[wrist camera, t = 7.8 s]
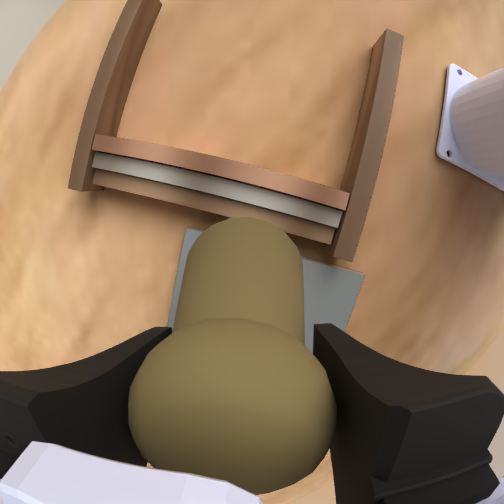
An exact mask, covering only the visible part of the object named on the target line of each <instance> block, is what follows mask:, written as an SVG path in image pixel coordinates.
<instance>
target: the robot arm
mask: <svg viewBox="0 0 504 504" xmlns="http://www.w3.org/2000/svg"><path fill="white" fill-rule="evenodd" d="M457 71H458V72H459V73H460V75H459V74H458V72H457ZM447 151H448V152H449V157H448V156H447ZM436 152H437V155H438V156H439V157H440V158H442V159H444V160H446V161H448V162H450V163H452V164H454V165H456V166H458V167H460V168H462V169H464V170H466V171H468V172H470V173H471V174H473V175H475V176H477V177H479V178H481V179H483V180H484V181H486V182H488V183H490V184H491V185H493V186H495V187H497V188H498V189H500V190H502V191H503V192H504V67H503V68H501V69H499V70H496V71H494V72H492V73H489V74H487V75H485V76H482V77H480V78H477V77H475V76H473V75H472V74H470V73H468V72H467V71H465V70H464V69H462V68H460V67H458V66H457V65H455V64H450V65H449V66H448V67H447V78H446V88H445V97H444V104H443V112H442V118H441V125H440V131H439V137H438V142H437V148H436ZM171 334H172V327H154V328H151V329H149V330H147V331H145V332H142V333H140V334H138V335H136V336H134V337H132V338H130V339H129V340H127V341H125V342H123V343H121V344H119V345H116V346H114V347H112V348H110V349H107V350H105V351H103V352H101V353H99V354H96V355H94V356H91V357H88V358H85V359H82V360H79V361H76V362H73V363H69V364H64V365H60V366H56V367H51V368H46V369H39V370H30V371H0V504H263V502H262V501H261V499H260V498H259V497H258V496H256V495H255V494H253V493H251V492H248V491H246V490H244V489H242V488H240V487H238V486H236V485H234V484H232V483H230V482H228V481H226V480H220V479H215V478H210V477H206V476H201V475H197V474H192V473H185V472H177V471H169V470H162V469H156V468H149V467H146V466H147V462H148V461H147V460H146V459H145V458H144V457H143V456H142V455H141V453H140V451H139V449H138V447H137V445H136V443H135V442H134V439H133V436H132V433H131V431H130V428H129V425H128V401H129V391H130V386H131V384H132V382H133V380H134V378H135V376H136V374H137V372H138V370H139V369H140V367H141V365H142V363H143V362H144V360H145V358H146V356H147V355H148V353H149V352H150V351H151V350H152V349H153V348H154V347H155V346H157V345H158V344H159V343H160V342H161V341H163V340H164V339H165V338H167V337H168V336H169V335H171ZM313 355H314V356H315V357H316V358H317V360H318V361H319V362H320V363H321V365H322V366H323V367H324V369H325V370H326V373H327V376H328V379H329V382H330V385H331V388H332V391H333V394H334V398H335V401H336V404H337V418H336V427H335V432H334V437H333V442H332V444H331V446H330V453H331V460H332V468H333V476H334V485H335V493H336V494H335V495H336V504H504V476H503V477H502V478H500V479H498V478H497V477H496V475H495V474H494V472H493V470H492V469H491V468H490V466H489V463H491V461H492V455H491V454H490V452H489V451H488V447H489V445H490V443H491V441H492V439H493V437H494V435H495V433H496V431H497V429H498V427H499V425H500V423H501V421H502V418H503V415H504V394H503V393H502V392H501V391H500V390H499V389H498V388H497V387H496V386H495V385H494V384H493V383H492V382H491V381H490V380H489V378H487V377H486V376H470V375H469V376H468V375H453V374H446V373H439V372H434V371H429V370H424V369H421V368H417V367H413V366H410V365H407V364H404V363H401V362H398V361H396V360H393V359H391V358H388V357H386V356H384V355H382V354H380V353H378V352H376V351H374V350H372V349H370V348H369V347H367V346H365V345H363V344H362V343H360V342H359V341H357V340H355V339H354V338H352V337H351V336H349V335H348V334H346V333H345V332H344V331H342V330H341V329H339V328H338V327H336V326H335V325H333V324H331V323H324V324H314V329H313Z"/></svg>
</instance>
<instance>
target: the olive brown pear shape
mask: <svg viewBox="0 0 504 504" xmlns="http://www.w3.org/2000/svg"><path fill="white" fill-rule="evenodd" d="M336 418H337V404H336V401H335V398H334V394H333V391H332V388H331V385H330V382H329V379H328V376H327V373H326V370H325V369H324V367H323V366H322V365H321V363H320V362H319V361H318V360H317V358H316V357H315V356H314V355H313V354H312V353H311V352H310V351H309V350H308V349H307V347H306V346H305V318H304V277H303V262H302V260H301V257H300V254H299V251H298V248H297V246H296V245H295V244H294V243H293V241H292V240H291V239H290V238H289V236H288V235H287V234H286V233H285V232H284V231H282V230H281V229H279V228H278V227H276V226H275V225H273V224H271V223H270V222H267V221H263V220H260V219H256V218H252V217H240V218H229V219H226V220H224V221H221V222H219V223H216V224H213V225H211V226H210V227H209V228H208V229H207V230H205V231H204V232H203V233H202V234H201V235H199V236H198V237H197V239H196V240H195V242H194V244H193V245H192V247H191V249H190V250H189V252H188V256H187V260H186V265H185V270H184V275H183V279H182V284H181V289H180V294H179V299H178V304H177V309H176V315H175V320H174V325H173V331H172V334H171V335H169V336H168V337H167V338H165V339H164V340H163V341H161V342H160V343H159V344H158V345H157V346H155V347H154V348H153V349H152V350H151V351H150V352H149V353H148V355H147V356H146V358H145V360H144V362H143V363H142V365H141V367H140V369H139V370H138V372H137V374H136V376H135V378H134V380H133V382H132V384H131V386H130V391H129V401H128V425H129V428H130V431H131V433H132V436H133V439H134V442H135V443H136V445H137V447H138V449H139V451H140V453H141V455H142V456H143V457H144V458H145V459H146V460H147V461H148V462H149V463H150V464H151V465H152V466H153V467H154V468H156V469H162V470H169V471H177V472H185V473H192V474H197V475H201V476H206V477H210V478H215V479H220V480H226V481H228V482H230V483H232V484H234V485H236V486H238V487H240V488H242V489H244V490H246V491H248V492H251V493H253V494H255V495H259V494H265V493H270V492H273V491H276V490H279V489H282V488H285V487H287V486H290V485H292V484H295V483H296V482H298V481H300V480H301V479H303V478H304V477H306V476H307V475H309V474H310V473H312V472H313V471H314V470H315V469H316V467H317V466H318V465H319V464H320V462H321V461H322V460H323V459H324V457H325V455H326V454H327V452H328V450H329V448H330V446H331V444H332V442H333V437H334V432H335V427H336Z"/></svg>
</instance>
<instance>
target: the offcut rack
mask: <svg viewBox="0 0 504 504" xmlns="http://www.w3.org/2000/svg"><path fill="white" fill-rule="evenodd" d="M161 6H162V4H161V2H160V1H159V0H128V1H127V3H126V5H125V7H124V9H123V11H122V13H121V15H120V17H119V20H118V22H117V24H116V26H115V29H114V31H113V33H112V36H111V38H110V41H109V43H108V46H107V48H106V51H105V53H104V56H103V59H102V61H101V64H100V67H99V70H98V72H97V75H96V78H95V81H94V84H93V87H92V90H91V94H90V97H89V100H88V103H87V107H86V110H85V114H84V117H83V121H82V125H81V129H80V133H79V137H78V141H77V145H76V150H75V154H74V159H73V164H72V169H71V174H70V179H69V185H68V188H69V189H73V190H77V191H82V192H83V191H96V190H104V187H108V188H113V189H117V190H121V191H126V192H130V193H134V194H138V195H143V196H147V197H151V198H155V199H159V200H163V201H167V202H171V203H175V204H179V205H183V206H187V207H191V208H195V209H199V210H203V211H207V212H211V213H215V214H219V215H223V216H227V217H231V218H240V217H252V218H256V219H260V220H263V221H267V222H270V223H271V224H273V225H275V226H276V227H278V228H279V229H281V230H282V231H284V232H287V233H290V234H294V235H298V236H301V237H305V238H309V239H312V240H316V241H319V242H323V243H325V245H324V247H325V248H326V249H327V251H328V252H329V253H330V254H331V255H332V256H333V257H335V258H339V259H343V260H346V261H350V262H352V261H353V258H354V255H355V252H356V249H357V246H358V242H359V239H360V236H361V233H362V229H363V226H364V222H365V219H366V216H367V212H368V208H369V205H370V201H371V198H372V194H373V190H374V186H375V183H376V179H377V175H378V171H379V167H380V163H381V158H382V154H383V150H384V145H385V141H386V136H387V132H388V127H389V122H390V117H391V112H392V107H393V102H394V97H395V91H396V85H397V79H398V73H399V67H400V60H401V53H402V46H403V38H404V36H403V35H401V34H398V33H396V32H394V31H391V30H389V29H386V30H385V31H384V33H383V34H382V35H381V36H380V38H379V39H378V40H377V42H376V43H375V44H374V45H373V49H372V55H371V60H370V65H369V70H368V76H367V80H366V85H365V90H364V95H363V100H362V104H361V109H360V113H359V118H358V122H357V126H356V131H355V135H354V139H353V143H352V147H351V151H350V155H349V159H348V163H347V167H346V171H345V175H344V179H343V182H342V186H341V190H338V189H335V188H331V187H328V186H325V185H322V184H318V183H315V182H311V181H308V180H305V179H301V178H298V177H294V176H291V175H287V174H283V173H280V172H276V171H272V170H268V169H265V168H261V167H257V166H253V165H249V164H245V163H241V162H237V161H233V160H229V159H224V158H220V157H216V156H211V155H207V154H202V153H198V152H193V151H188V150H183V149H179V148H174V147H169V146H163V145H158V144H153V143H147V142H142V141H136V140H130V139H124V138H118V137H116V134H117V130H118V127H119V123H120V119H121V116H122V112H123V109H124V105H125V102H126V99H127V96H128V92H129V89H130V86H131V83H132V80H133V77H134V74H135V71H136V68H137V66H138V63H139V60H140V57H141V55H142V52H143V49H144V47H145V44H146V42H147V39H148V37H149V34H150V32H151V29H152V27H153V25H154V22H155V20H156V18H157V15H158V13H159V11H160V9H161ZM112 153H113V154H119V155H124V156H130V157H135V158H140V159H145V160H150V161H155V162H160V163H164V164H169V165H174V166H178V167H183V168H187V169H192V170H196V171H201V172H205V173H209V174H214V175H218V176H222V177H226V178H230V179H234V180H238V181H242V182H246V183H250V184H254V185H258V186H261V187H265V188H269V189H273V190H276V191H280V192H284V193H287V194H291V195H294V196H298V197H301V198H305V199H308V200H312V201H315V202H319V203H322V204H325V205H329V206H332V207H335V209H334V208H331V207H328V206H324V205H321V204H318V203H314V202H311V201H307V200H304V199H300V198H297V197H293V196H290V195H286V194H282V193H279V192H275V191H271V190H268V189H264V188H260V187H256V186H252V185H248V184H245V183H241V182H237V181H233V180H229V179H225V178H220V177H216V176H212V175H208V174H204V173H199V172H195V171H191V170H186V169H182V168H177V167H172V166H168V165H163V164H158V163H154V162H149V161H144V160H139V159H134V158H128V157H123V156H118V155H112Z"/></svg>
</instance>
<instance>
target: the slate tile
mask: <svg viewBox="0 0 504 504" xmlns="http://www.w3.org/2000/svg"><path fill="white" fill-rule="evenodd" d="M204 231H205V230H201V229H198V228H194V227H190V226H189V227H187V228H186V233H185V237H184V242H183V247H182V252H181V256H180V261H179V266H178V271H177V276H176V281H175V287H174V292H173V297H172V303H171V308H170V314H169V320H168V326H167V327H172V331H173V325H174V320H175V315H176V309H177V304H178V299H179V294H180V289H181V284H182V279H183V275H184V270H185V265H186V260H187V256H188V252H189V250H190V249H191V247H192V245H193V244H194V242H195V240H196V239H197V237H198V236H199V235H201V234H202V233H203V232H204ZM300 257H301V260H302V262H303V277H304V318H305V346H306V347H307V349H308V350H309V351H310V352H311V353H312V354H313V329H314V324H324V323H331V324H333V325H335V326H336V327H338V328H339V329H341V330H342V331H344V330H345V328H346V325H347V323H348V320H349V318H350V315H351V312H352V310H353V307H354V304H355V302H356V299H357V296H358V294H359V291H360V288H361V285H362V282H363V279H364V277H365V275H364V274H363V273H361V272H358V271H354V270H351V269H347V268H343V267H340V266H336V265H332V264H329V263H325V262H321V261H318V260H314V259H310V258H307V257H303V256H300Z"/></svg>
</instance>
